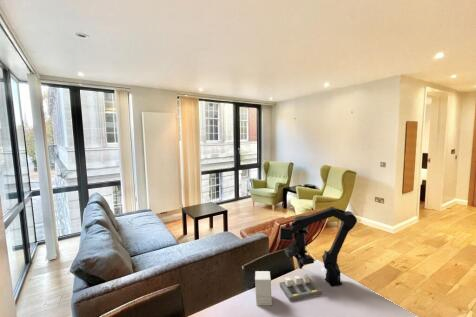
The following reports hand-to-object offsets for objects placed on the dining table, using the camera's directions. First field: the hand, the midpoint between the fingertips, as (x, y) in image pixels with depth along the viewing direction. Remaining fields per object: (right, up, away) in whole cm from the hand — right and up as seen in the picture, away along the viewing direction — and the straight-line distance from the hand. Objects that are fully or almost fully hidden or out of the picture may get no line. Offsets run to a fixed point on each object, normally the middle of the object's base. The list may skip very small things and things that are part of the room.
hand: (300, 268), depth 126 cm
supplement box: (-22, -8, -16) cm, 28 cm away
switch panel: (-3, -7, -9) cm, 12 cm away
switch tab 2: (-3, -4, -7) cm, 9 cm away
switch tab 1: (-8, -5, -8) cm, 12 cm away
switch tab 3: (+1, -4, -6) cm, 7 cm away
